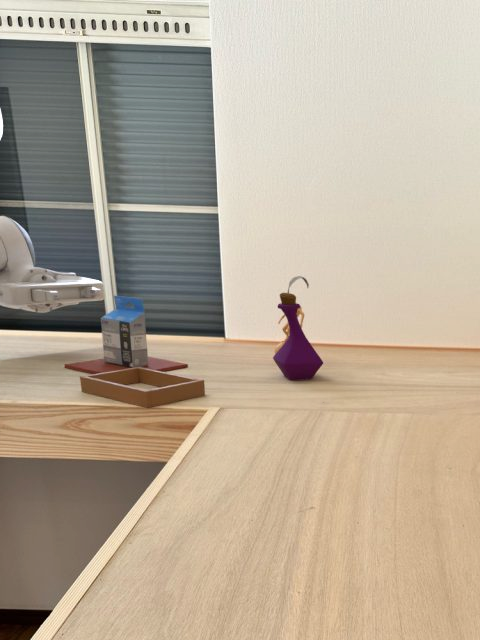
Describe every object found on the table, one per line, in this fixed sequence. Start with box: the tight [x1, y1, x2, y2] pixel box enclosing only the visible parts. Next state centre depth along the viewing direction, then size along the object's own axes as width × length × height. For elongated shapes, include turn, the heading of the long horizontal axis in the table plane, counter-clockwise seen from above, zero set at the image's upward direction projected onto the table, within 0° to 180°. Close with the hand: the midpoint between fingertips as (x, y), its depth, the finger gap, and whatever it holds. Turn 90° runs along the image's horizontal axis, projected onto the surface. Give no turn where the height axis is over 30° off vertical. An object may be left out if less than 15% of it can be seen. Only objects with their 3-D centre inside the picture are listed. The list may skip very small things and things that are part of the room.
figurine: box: [274, 305, 305, 355], centre depth 148 cm, size 8×6×12 cm
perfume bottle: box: [272, 275, 324, 381], centre depth 132 cm, size 8×8×18 cm
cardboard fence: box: [79, 367, 206, 409], centre depth 119 cm, size 12×17×2 cm
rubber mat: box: [64, 356, 189, 375], centre depth 139 cm, size 16×16×1 cm
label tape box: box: [100, 295, 149, 367], centre depth 137 cm, size 9×4×12 cm, turn 55°
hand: (77, 295), depth 141 cm, fingers open, 8 cm apart
